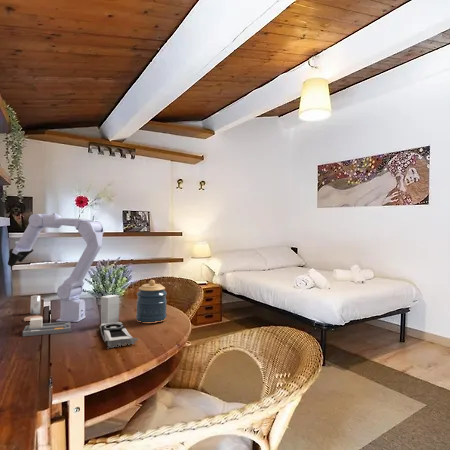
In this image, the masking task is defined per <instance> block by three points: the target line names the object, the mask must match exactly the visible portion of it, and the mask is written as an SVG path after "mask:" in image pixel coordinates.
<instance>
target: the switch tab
mask: <svg viewBox="0 0 450 450" xmlns="http://www.w3.org/2000/svg"><path fill="white" fill-rule="evenodd" d="M43 319H44V318H43V316H42V317H40V318H31V319H30V322H29V326H30V328H39V327H42V324H44V323H43Z"/></svg>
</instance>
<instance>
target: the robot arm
mask: <svg viewBox="0 0 450 450" xmlns="http://www.w3.org/2000/svg"><path fill="white" fill-rule="evenodd" d="M62 226H64V227H67V226H68V227H75V230H77V231H78V232H79V235H80V236H81V237H82V239H83V240H84V241H85V243H86V247H85V248H84V250H83V252H82V253H81V256H80V258H79V259H78V261H77V262H76V264H75V267H74V268H73V270H72V272H71V273H70V276H69V277H68V278H66V279H65V280H64V281H63V283H62V284H61V285H59V286H58V287H57V290H56V293H57V297H58V298H59V301H60V316H59V318H58V319H56V320H55V321H56V322H65V323H67V322H71V323H72V322H73V323H77V322H80V321H81V320H83V319H85V318H86V317H87V316H86V301H85V299H80V295H82V292H83V287H84V285H85V282H84V279H85V277H86V276H87V274H88V272H89V270H90V268H91V266H92V265H93V262H94V261H95V259H96V257H97V255H98V253H99V252H100V250H101V249H102V245H103V237H104V236H103V235H104V233H105V229H104V226H103V224H102V223H101V221H97V220H95V221H94V220H91V219H87V218H86V219H85V218H69V217H68V218H66V217H65V218H63V216H61V215H60V214H58V213H52V214H48V213H33V214H30V216H29V218H28V225H27V227H26V228H25V230H24V232H23V233H22V235H21V237H20V239H19V240H17V241H15V242H14V244H15V247H14V248H10V249H9V251H8V254H9V257H8V261H7V266H9V267H11V268H12V267H15V265H16V264H17V262H19V263H22V262H23V261H24V260H25V259H26V258H27V257H28V256H29V255H30V254H31V253H32V252H34V249H33V247H34V245H35V243H36V241H37V239H38V238H39V236H40V234H41V232H42V231H43V230H44V228H50V229H51V228H53V229H59V228H61V227H62Z"/></svg>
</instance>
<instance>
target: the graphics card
mask: <svg viewBox="0 0 450 450" xmlns="http://www.w3.org/2000/svg"><path fill="white" fill-rule="evenodd" d="M98 327H99V331H100V335H101V337H102V340H103V341H104V344H105V345H106V347H107V346H108V347H107V350H109V348H110V349H115V348H114V347H118V348H120V347H119V346H121V345H122V346H124V345H127V344H128V345H130V344H135V343H136V342H138V339H139V338H137V337H133V336H132V335H131V334H130V333H129V331H128V330H127V328H126V327H125V325H124V323H122V322H121V321H119V322H116V323H107V324H101V323H100V325H99V326H98ZM125 343H126V344H125ZM117 345H118V346H117ZM130 346H131V345H130Z"/></svg>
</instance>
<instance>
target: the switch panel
mask: <svg viewBox="0 0 450 450" xmlns="http://www.w3.org/2000/svg"><path fill="white" fill-rule="evenodd" d="M71 323H72V322H65V321H57V322H48V323H43V324H42V327H39V328H30V324H29V325H25V326H24V329H23V330H22V337H33V336H42V335H57V334H65V333H66V334H68V333H71V328H72V327H71Z"/></svg>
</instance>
